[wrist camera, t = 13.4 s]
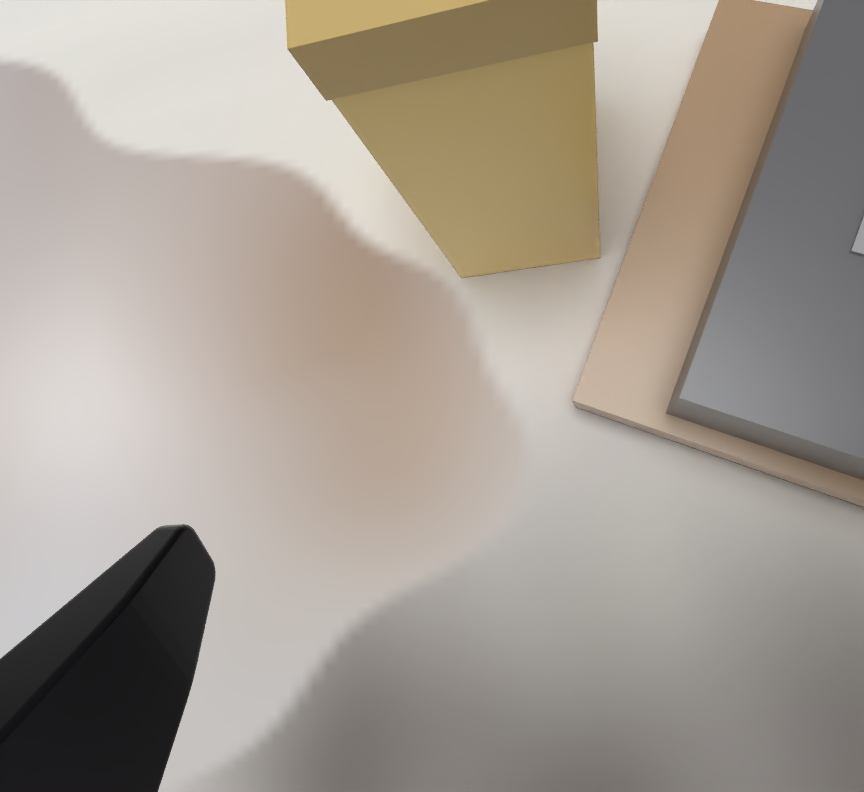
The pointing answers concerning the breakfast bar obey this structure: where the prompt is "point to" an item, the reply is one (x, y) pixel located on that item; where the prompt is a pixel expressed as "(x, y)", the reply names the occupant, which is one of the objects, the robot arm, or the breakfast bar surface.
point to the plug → (470, 116)
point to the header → (752, 257)
